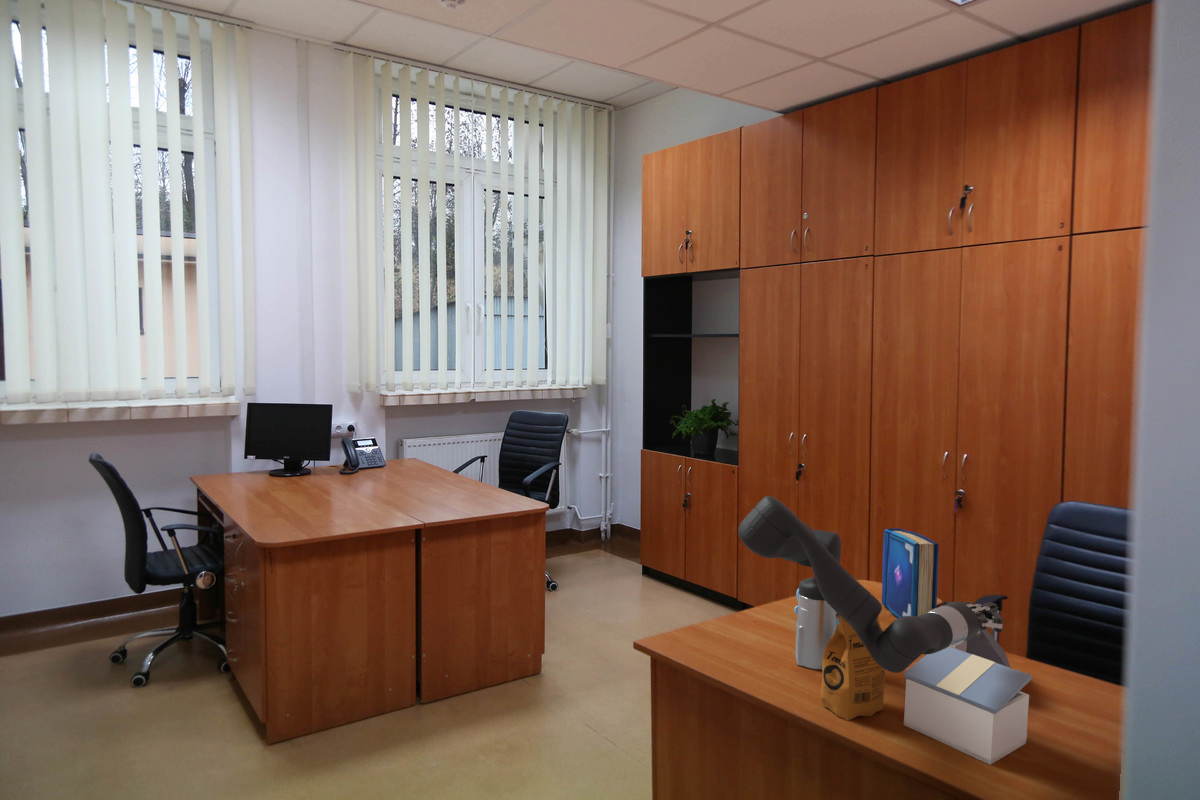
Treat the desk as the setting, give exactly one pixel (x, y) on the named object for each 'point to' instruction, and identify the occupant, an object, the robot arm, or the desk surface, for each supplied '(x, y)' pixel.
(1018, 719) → the storage box
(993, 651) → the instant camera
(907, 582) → the book
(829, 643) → the coffee package
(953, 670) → the lid
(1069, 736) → the desk surface
